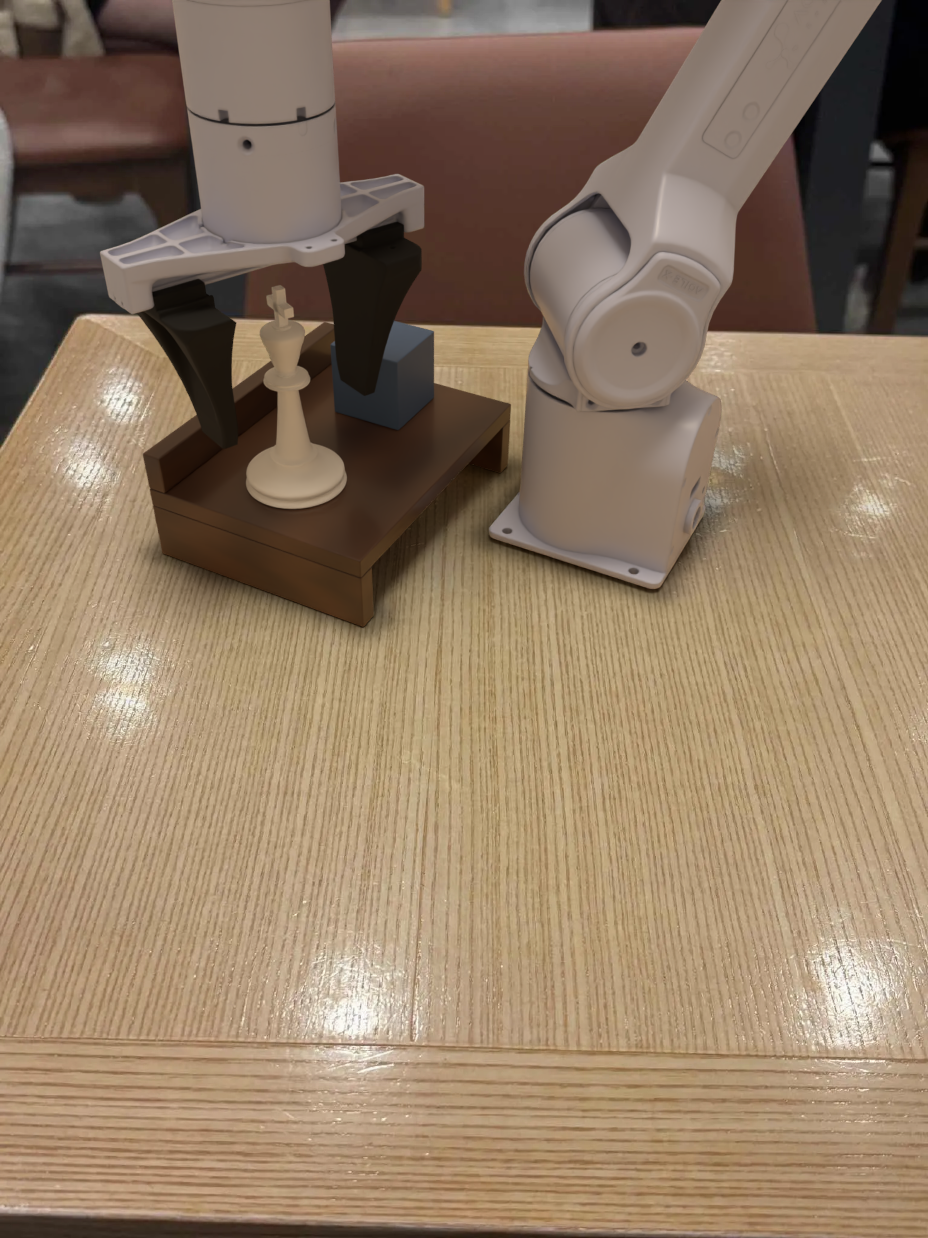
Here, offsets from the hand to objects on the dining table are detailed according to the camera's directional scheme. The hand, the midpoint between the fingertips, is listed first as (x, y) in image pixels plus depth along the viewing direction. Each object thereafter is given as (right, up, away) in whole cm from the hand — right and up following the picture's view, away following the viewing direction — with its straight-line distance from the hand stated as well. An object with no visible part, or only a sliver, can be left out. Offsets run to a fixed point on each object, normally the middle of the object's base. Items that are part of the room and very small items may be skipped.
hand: (291, 411), depth 51 cm
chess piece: (0, -3, +3) cm, 4 cm away
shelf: (+2, -4, +8) cm, 9 cm away
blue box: (+4, +2, +8) cm, 9 cm away
